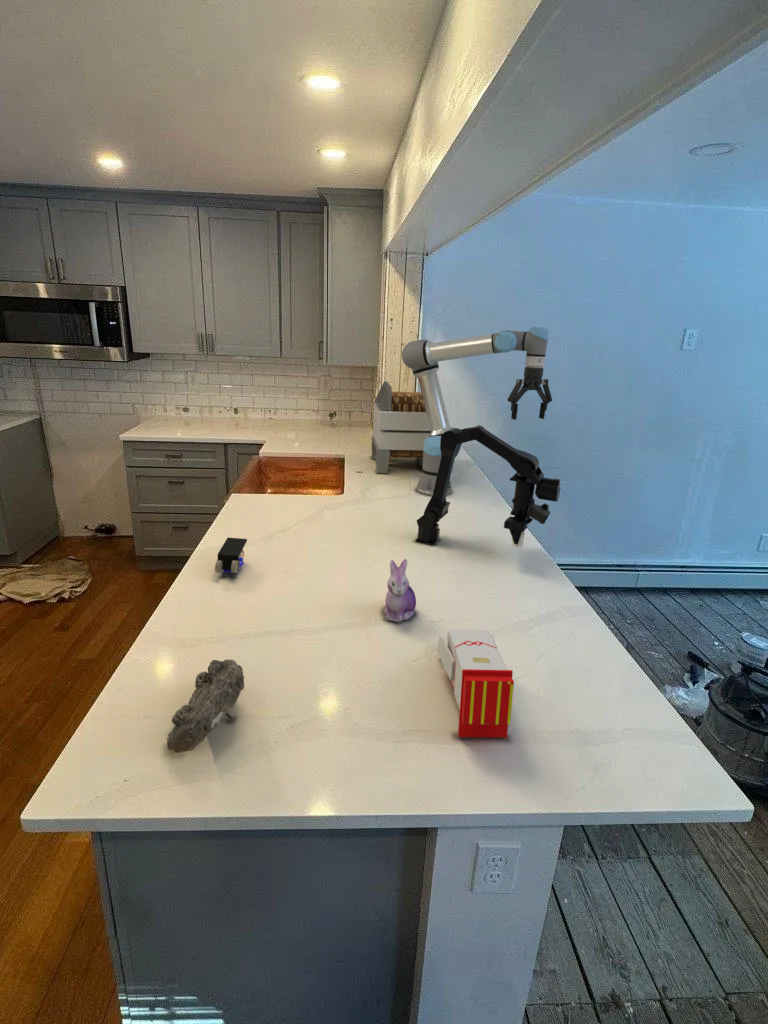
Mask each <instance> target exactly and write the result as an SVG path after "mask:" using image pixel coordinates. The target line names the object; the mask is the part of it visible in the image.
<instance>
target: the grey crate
mask: <svg viewBox="0 0 768 1024" xmlns="http://www.w3.org/2000/svg"><path fill="white" fill-rule="evenodd" d="M372 429H373V430H372V435H371V453H370V454H371V459H372V460H375V471H376V474H388V471H389V465H390V464H389V463H390V459H391V458H393V459H417V458H419V459H421V460H422V461H423V446H424V441H425V440H426V439H427V438H428V437H429V434H430V432H431V428H430V424H429V420H428V416H427V412H426V408H425V404H424V400H423V397H422V393H421V391H418V392H417V391H393V388H392V385H391V384H390V383H388V381H387V380H386V381H385V380H384V381H383V383H382V385H381V386H380V389H379V391H378V393H377V394H376V397H375V398H374V400H373V428H372Z"/></svg>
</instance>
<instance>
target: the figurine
mask: <svg viewBox="0 0 768 1024" xmlns="http://www.w3.org/2000/svg"><path fill="white" fill-rule="evenodd" d="M407 567H408V559H406V558H404V559H403V560H402V561H401V563H400V565H399V566H398V565H397V563H396V562H395V561H394V560H393V559H391V560H390V561H389V570H390V576H389V578H388V579H387V589H388V591H387V592H386V594H385V595H386V596H385V607H384V615H385V616H386V620H387V621H391V622H395V623H400V622H402V621H406V620H409V619H410V618H411V617H413V616H414V615H415V610H416V606H417V597H416V593H415V591H414V590H413V587H411V586H410V582H409V579H408V577H407V574H406V571H407Z"/></svg>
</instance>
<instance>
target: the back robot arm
mask: <svg viewBox="0 0 768 1024" xmlns="http://www.w3.org/2000/svg"><path fill="white" fill-rule="evenodd" d="M548 341H549V329H548V328H547V327H544V326H543V327H542V326H531V327H529V330H528V331H520V330H509V329H507V330H500V331H499V332H496V333H488V334H483V335H476V336H475V335H474V336H469V337H463V338H457V339H456V338H455V339H450V340H443V341H437V342H432V341H430V340H429V339H428V340H427V339H419V340H411V341H409V342H407V343H406V344H405V345H404V346H403V349H402V351H401V359H402V362H403V364H404V365H405V366H406V367H407V368H409V369H411V371H412V375H413V376H414V377H415V378H417V380H418V385H419V388H420V392H421V393H422V397H423V400H424V404H425V408H426V412H427V416H428V420H429V424H430V428H431V432H430V434H429V437H428V438H427V439H426V440H425V441H424V446H423V460H422V466H421V465H420V463H419V459H420V458H416V465H417V467H418V468H419V470H421V475H420V477H419V479H418V482H417V484H416V491H417V492H418V493H419V494H421V495H425V496H430V497H432V495H433V491H434V487H435V482H436V478H437V473H438V469H439V465H440V460H441V450H440V441H441V436H442V434H443V433H444V432H446V431H448V430H450V429H452V428H453V427H452V426H451V425H450V420H449V416H448V413H447V408H446V405H445V400H444V396H443V393H442V389H441V384H440V380H439V376H438V371H439V369H440V365H439V362H444V361H451V360H458V359H465V358H474V357H480V356H486V355H493V354H500V353H501V354H504V353H506V354H507V353H510V352H512V351H515V352H517V351H520V352H526V353H525V354H526V355H525V362H524V365H525V367H524V370H523V371H524V372H523V379H522V378H517V379H516V381H515V385H514V387H513V389H512V390H511V393H510V394H509V395H508V398H507V402H508V403H510V412H511V417H510V418H511V420H514V421H517V416H518V409H519V403H518V402H519V401H520V400H521V398H522V397H523V396H524V395H525V393H527V392H528V391H536V393H537V395H538V396H539V398H540V399H541V401H542V402H540V408H539V414H538V419H540V420H545V415H546V412H547V410H548V404H550V402H553V397H552V393H551V390H550V386H549V379H547V378H543V377H544V370H545V369H544V366H545V361H546V353H547V348H548ZM541 385H542V386H541ZM461 448H462V446H461V447H460V449H459V451H458V453H457V455H456V456H455V458H457V457H458V455H459V454H460V451H461ZM452 489H453V488H452V481H451V479H450V480H449V485H448V489H447V493H446V496H449V495H451V494H452Z"/></svg>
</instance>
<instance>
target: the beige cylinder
mask: <svg viewBox="0 0 768 1024" xmlns="http://www.w3.org/2000/svg"><path fill="white" fill-rule="evenodd" d="M511 538H512V537H511ZM524 540H525V531H524V532H522V534H521V537H520V540H519V543H518V544H514V541H513V538H512V539H511V546H513V547H514V548H523V547H524Z"/></svg>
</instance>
